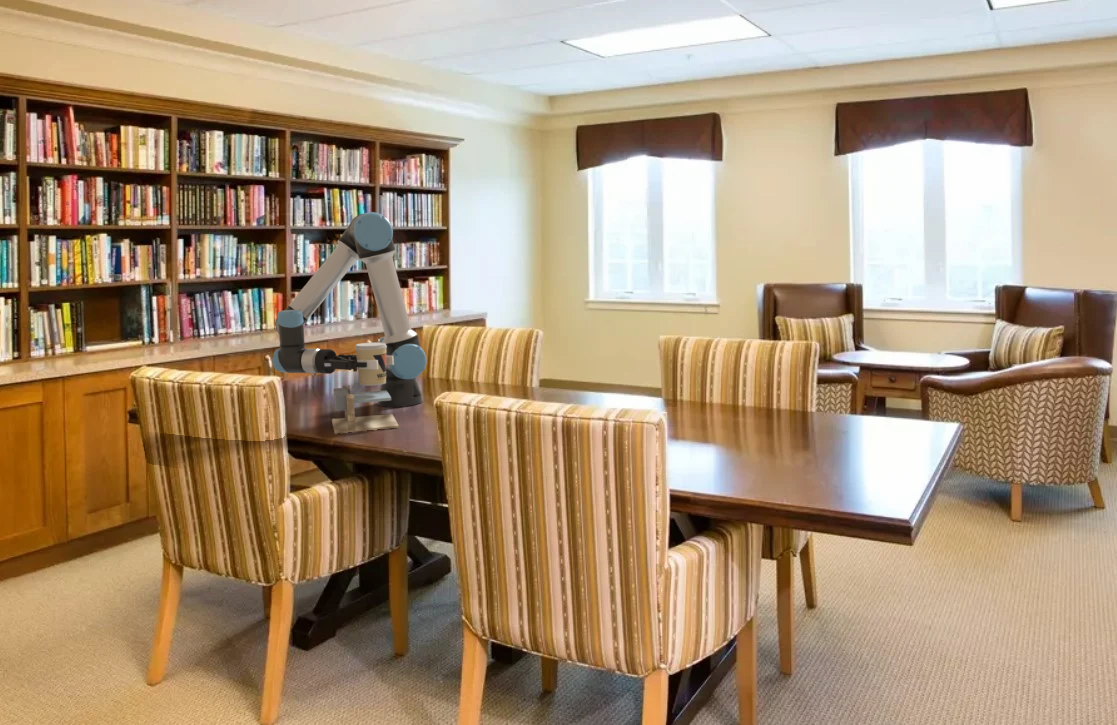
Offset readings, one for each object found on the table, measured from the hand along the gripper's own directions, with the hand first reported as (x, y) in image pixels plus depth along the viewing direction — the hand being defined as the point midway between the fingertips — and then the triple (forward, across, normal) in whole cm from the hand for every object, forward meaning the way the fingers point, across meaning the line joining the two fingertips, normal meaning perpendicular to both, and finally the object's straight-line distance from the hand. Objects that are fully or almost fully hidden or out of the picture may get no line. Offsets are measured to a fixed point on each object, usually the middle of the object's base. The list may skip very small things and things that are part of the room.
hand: (385, 362), depth 273 cm
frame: (-7, +2, -19) cm, 20 cm away
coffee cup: (-5, 0, -7) cm, 8 cm away
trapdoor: (-7, +2, -13) cm, 15 cm away
